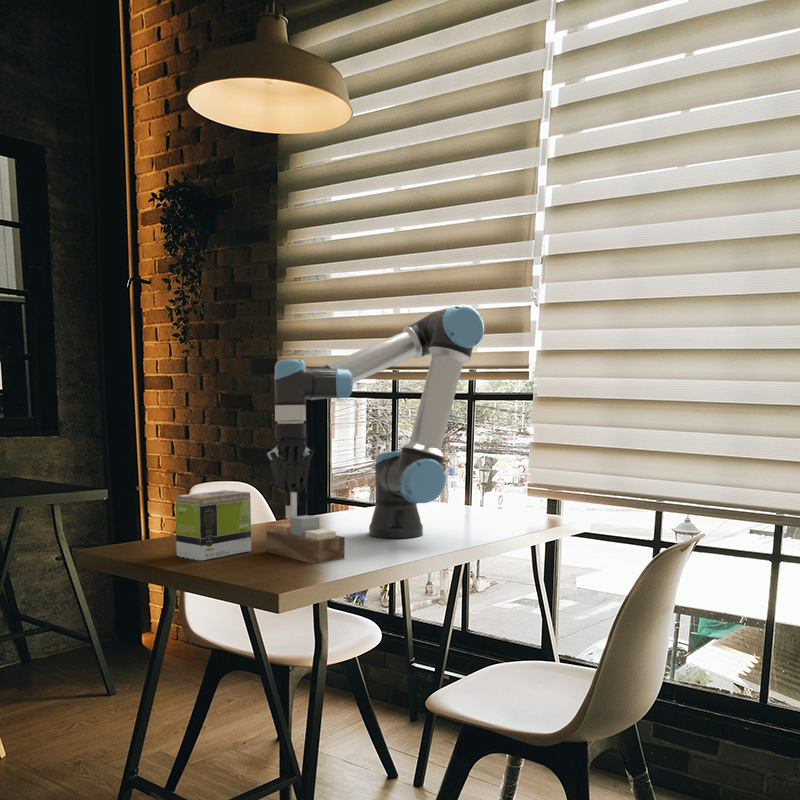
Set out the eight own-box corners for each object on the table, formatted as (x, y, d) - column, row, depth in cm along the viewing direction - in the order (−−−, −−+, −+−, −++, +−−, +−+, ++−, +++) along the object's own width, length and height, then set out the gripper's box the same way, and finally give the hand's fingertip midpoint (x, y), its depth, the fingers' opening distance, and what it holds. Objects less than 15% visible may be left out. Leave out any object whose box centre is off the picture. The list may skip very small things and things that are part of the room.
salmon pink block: (292, 545, 181) (292, 522, 182) (303, 548, 178) (304, 525, 178) (275, 547, 178) (275, 525, 178) (286, 550, 174) (286, 527, 175)
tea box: (226, 547, 183) (226, 489, 184) (252, 552, 177) (252, 491, 177) (174, 556, 172) (175, 493, 172) (200, 562, 165) (200, 497, 165)
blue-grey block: (307, 538, 177) (307, 515, 177) (319, 540, 173) (319, 517, 173) (289, 540, 174) (290, 517, 174) (301, 543, 170) (302, 519, 170)
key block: (296, 547, 183) (297, 527, 184) (344, 558, 169) (344, 537, 169) (266, 551, 177) (266, 531, 177) (313, 563, 163) (313, 541, 163)
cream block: (322, 552, 172) (322, 528, 172) (335, 555, 169) (335, 531, 169) (305, 555, 169) (305, 531, 169) (317, 558, 165) (318, 533, 165)
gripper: (303, 422, 186) (304, 514, 185) (259, 423, 177) (260, 519, 177) (320, 422, 180) (321, 517, 180) (276, 423, 171) (277, 523, 171)
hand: (291, 518), depth 178 cm, fingers closed
